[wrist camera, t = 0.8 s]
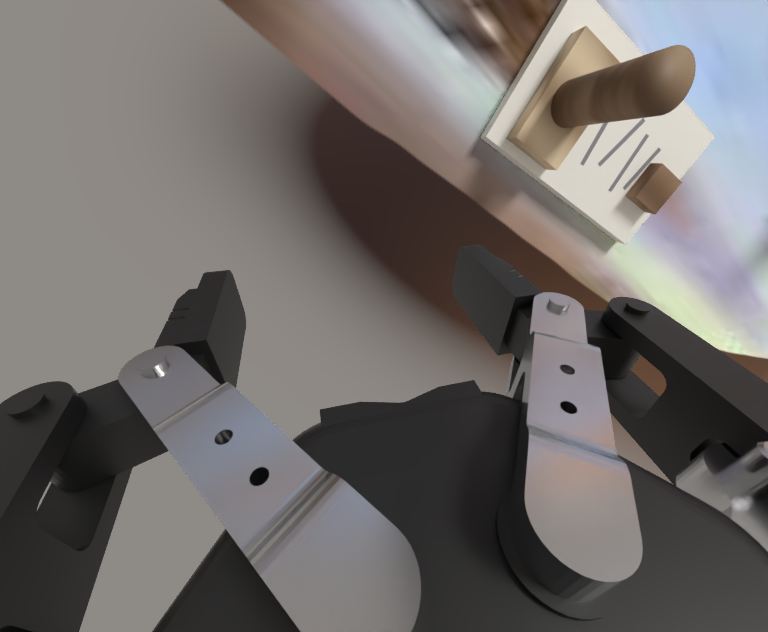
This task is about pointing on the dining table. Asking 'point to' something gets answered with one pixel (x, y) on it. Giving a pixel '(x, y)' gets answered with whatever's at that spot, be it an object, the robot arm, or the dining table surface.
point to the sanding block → (597, 94)
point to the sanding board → (598, 131)
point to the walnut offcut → (653, 188)
